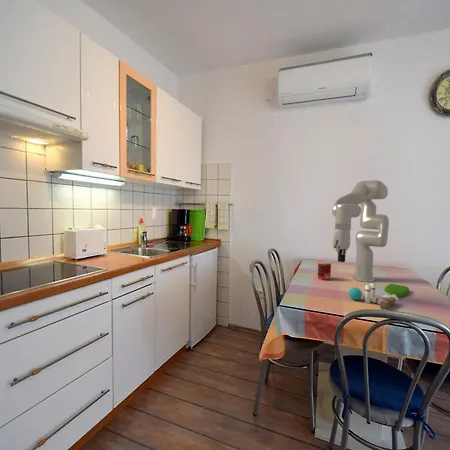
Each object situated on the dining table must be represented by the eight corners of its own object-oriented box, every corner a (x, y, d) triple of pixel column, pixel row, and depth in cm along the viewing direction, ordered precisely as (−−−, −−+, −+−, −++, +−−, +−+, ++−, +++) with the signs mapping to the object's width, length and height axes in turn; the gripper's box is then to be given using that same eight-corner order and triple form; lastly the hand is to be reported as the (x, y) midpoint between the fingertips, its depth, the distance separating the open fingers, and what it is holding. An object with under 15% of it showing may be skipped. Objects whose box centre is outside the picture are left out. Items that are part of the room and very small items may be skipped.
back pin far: (370, 299, 130) (371, 282, 129) (375, 300, 128) (376, 283, 128) (368, 300, 128) (369, 283, 128) (373, 301, 127) (374, 284, 126)
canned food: (331, 278, 169) (331, 261, 168) (329, 281, 162) (329, 263, 161) (318, 276, 173) (319, 260, 172) (316, 279, 166) (317, 262, 165)
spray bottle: (410, 292, 144) (403, 304, 126) (387, 287, 152) (377, 298, 134) (410, 286, 144) (403, 298, 126) (387, 282, 151) (378, 293, 133)
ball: (367, 294, 125) (361, 297, 131) (358, 284, 128) (353, 286, 133) (357, 300, 124) (352, 303, 130) (349, 290, 127) (344, 292, 132)
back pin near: (365, 301, 127) (366, 284, 126) (371, 302, 125) (372, 285, 124) (363, 302, 125) (364, 284, 125) (369, 303, 123) (369, 286, 123)
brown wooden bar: (390, 302, 125) (390, 296, 125) (395, 304, 123) (395, 297, 123) (380, 308, 117) (380, 302, 117) (385, 309, 116) (385, 303, 116)
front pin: (365, 294, 129) (383, 298, 123) (365, 298, 130) (384, 303, 123) (362, 296, 128) (381, 300, 121) (363, 300, 128) (382, 305, 121)
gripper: (342, 226, 144) (341, 259, 145) (328, 227, 135) (327, 262, 136) (356, 227, 138) (355, 261, 139) (342, 228, 129) (341, 264, 130)
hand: (341, 261), depth 137 cm, fingers closed
